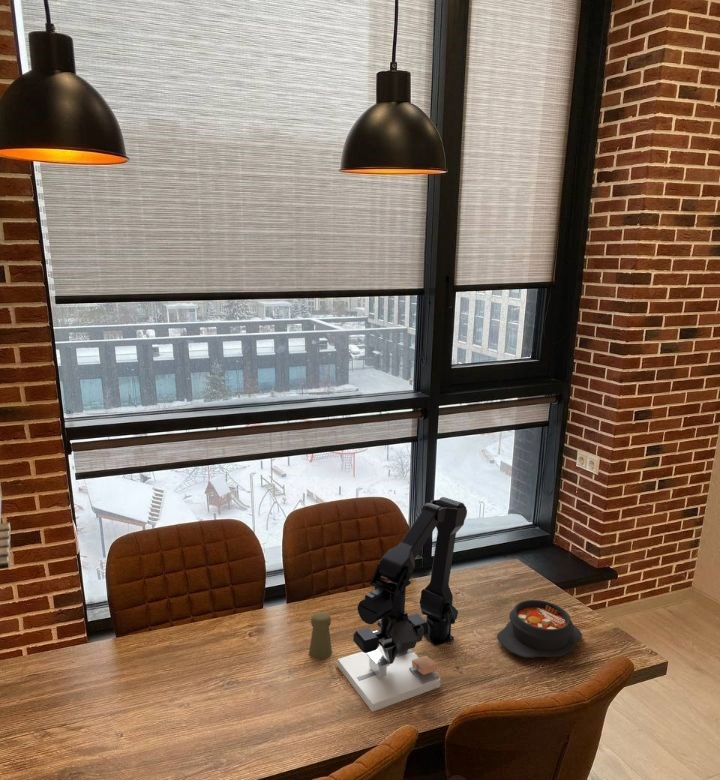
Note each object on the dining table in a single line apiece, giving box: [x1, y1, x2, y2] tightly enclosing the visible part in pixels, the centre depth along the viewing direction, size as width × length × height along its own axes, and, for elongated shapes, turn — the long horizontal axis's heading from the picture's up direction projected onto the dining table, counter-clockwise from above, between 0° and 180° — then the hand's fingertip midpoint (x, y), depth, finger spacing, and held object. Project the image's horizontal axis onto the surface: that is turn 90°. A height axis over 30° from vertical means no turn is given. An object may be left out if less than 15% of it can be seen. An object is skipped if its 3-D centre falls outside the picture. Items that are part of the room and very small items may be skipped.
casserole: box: [496, 599, 583, 659], centre depth 169 cm, size 25×19×8 cm
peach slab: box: [412, 655, 438, 675], centre depth 151 cm, size 4×5×2 cm
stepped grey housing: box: [367, 650, 390, 678], centre depth 151 cm, size 3×6×4 cm, turn 28°
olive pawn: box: [308, 611, 333, 661], centre depth 161 cm, size 6×6×11 cm
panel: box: [337, 645, 442, 713], centre depth 153 cm, size 19×18×3 cm
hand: (390, 662), depth 153 cm, fingers closed
